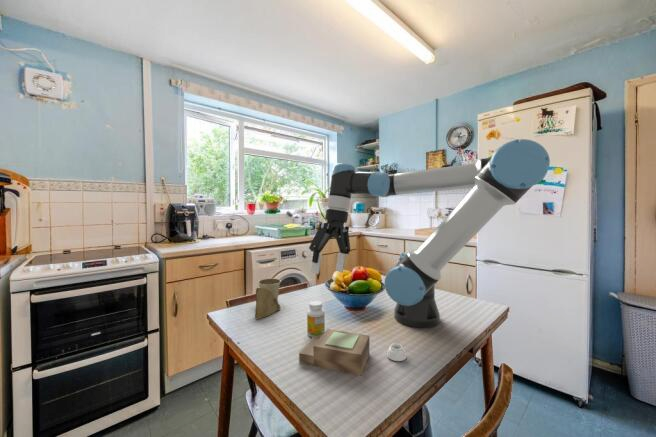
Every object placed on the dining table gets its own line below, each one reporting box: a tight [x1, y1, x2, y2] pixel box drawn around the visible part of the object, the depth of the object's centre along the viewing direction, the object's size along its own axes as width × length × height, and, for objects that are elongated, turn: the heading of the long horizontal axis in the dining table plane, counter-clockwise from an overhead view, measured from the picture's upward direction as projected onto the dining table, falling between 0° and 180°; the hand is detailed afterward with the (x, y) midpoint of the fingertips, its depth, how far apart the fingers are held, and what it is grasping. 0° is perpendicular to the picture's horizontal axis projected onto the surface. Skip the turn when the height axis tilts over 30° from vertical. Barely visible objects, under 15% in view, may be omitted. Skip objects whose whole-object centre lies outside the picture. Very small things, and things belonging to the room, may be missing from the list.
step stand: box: [298, 328, 370, 377], centre depth 71 cm, size 16×10×5 cm, turn 70°
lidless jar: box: [386, 343, 407, 362], centre depth 72 cm, size 5×3×5 cm
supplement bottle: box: [306, 300, 326, 338], centre depth 85 cm, size 5×5×10 cm
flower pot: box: [257, 278, 282, 301], centre depth 114 cm, size 9×9×9 cm
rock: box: [254, 287, 281, 321], centre depth 101 cm, size 11×9×10 cm
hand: (327, 272), depth 92 cm, fingers open, 13 cm apart
